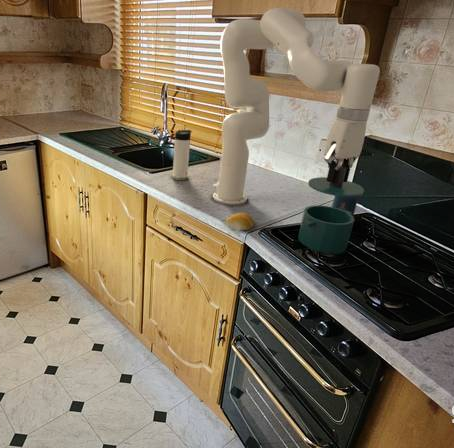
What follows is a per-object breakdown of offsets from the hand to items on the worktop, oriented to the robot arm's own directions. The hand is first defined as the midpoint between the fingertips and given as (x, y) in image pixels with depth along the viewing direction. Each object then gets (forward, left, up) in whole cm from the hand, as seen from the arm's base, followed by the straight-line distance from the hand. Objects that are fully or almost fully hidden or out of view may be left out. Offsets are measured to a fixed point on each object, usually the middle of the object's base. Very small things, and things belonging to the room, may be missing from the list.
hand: (336, 181), depth 113 cm
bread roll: (-20, -15, -20) cm, 32 cm away
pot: (0, 0, -20) cm, 20 cm away
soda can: (-7, +17, -20) cm, 27 cm away
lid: (0, 0, -2) cm, 2 cm away
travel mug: (-68, -7, -20) cm, 71 cm away
